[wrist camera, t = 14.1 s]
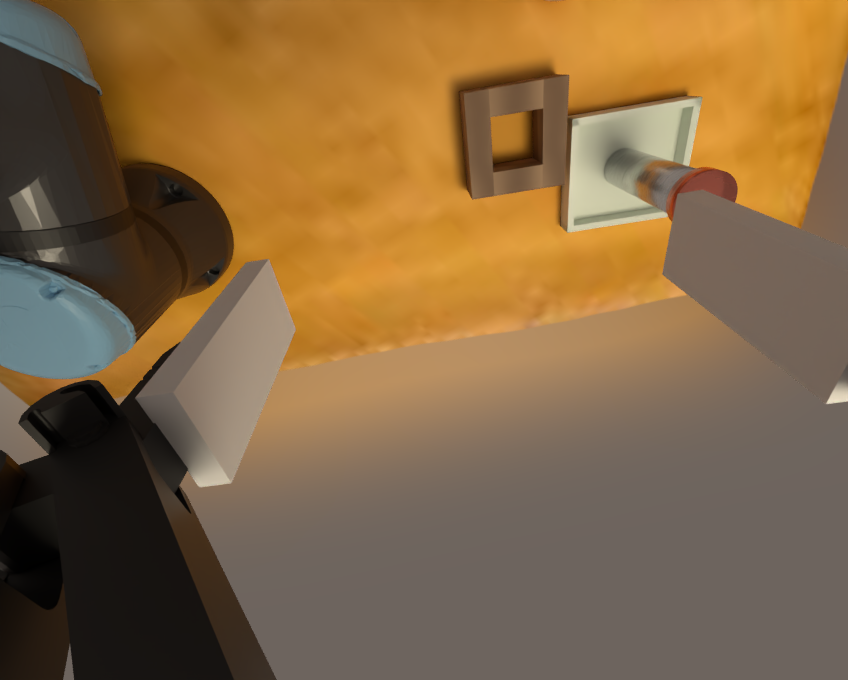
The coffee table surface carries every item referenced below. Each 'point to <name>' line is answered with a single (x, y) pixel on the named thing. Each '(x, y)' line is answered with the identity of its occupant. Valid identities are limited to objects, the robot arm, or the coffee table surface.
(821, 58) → the coffee table surface
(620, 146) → the tray
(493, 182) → the socket block
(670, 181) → the pin
